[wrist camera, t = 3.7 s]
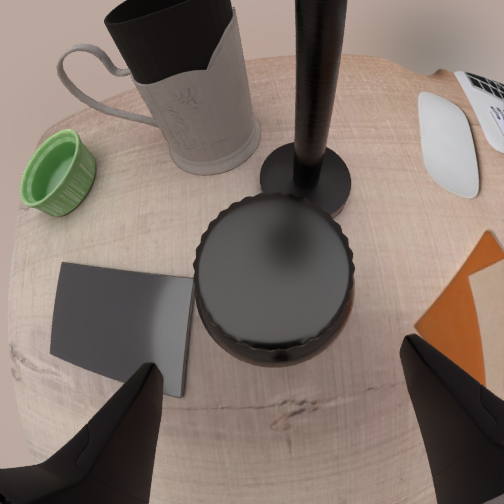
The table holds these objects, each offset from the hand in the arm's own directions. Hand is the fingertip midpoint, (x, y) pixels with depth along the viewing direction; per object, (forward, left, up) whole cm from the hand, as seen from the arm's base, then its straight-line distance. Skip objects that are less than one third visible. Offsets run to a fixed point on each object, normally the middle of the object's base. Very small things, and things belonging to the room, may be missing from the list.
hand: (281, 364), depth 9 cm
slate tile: (-7, +12, -10) cm, 17 cm away
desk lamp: (+11, +5, -10) cm, 16 cm away
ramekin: (0, +27, -10) cm, 29 cm away
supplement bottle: (+2, +2, -10) cm, 11 cm away
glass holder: (+10, +17, -10) cm, 22 cm away
